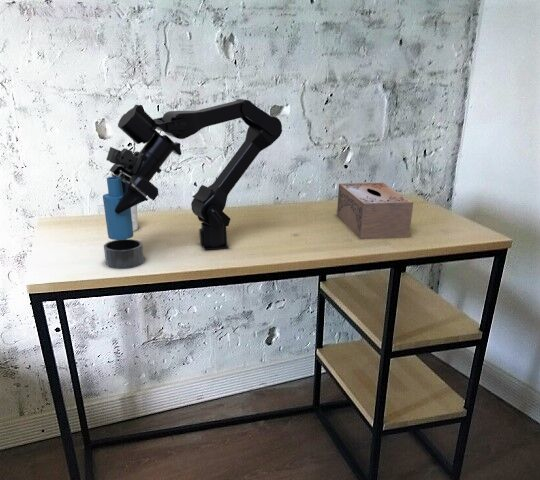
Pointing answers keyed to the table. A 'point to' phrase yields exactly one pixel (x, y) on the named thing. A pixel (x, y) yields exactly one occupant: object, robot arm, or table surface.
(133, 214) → the white cup
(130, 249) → the cup holder
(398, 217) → the tissue box cover
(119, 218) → the bottle
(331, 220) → the table surface
